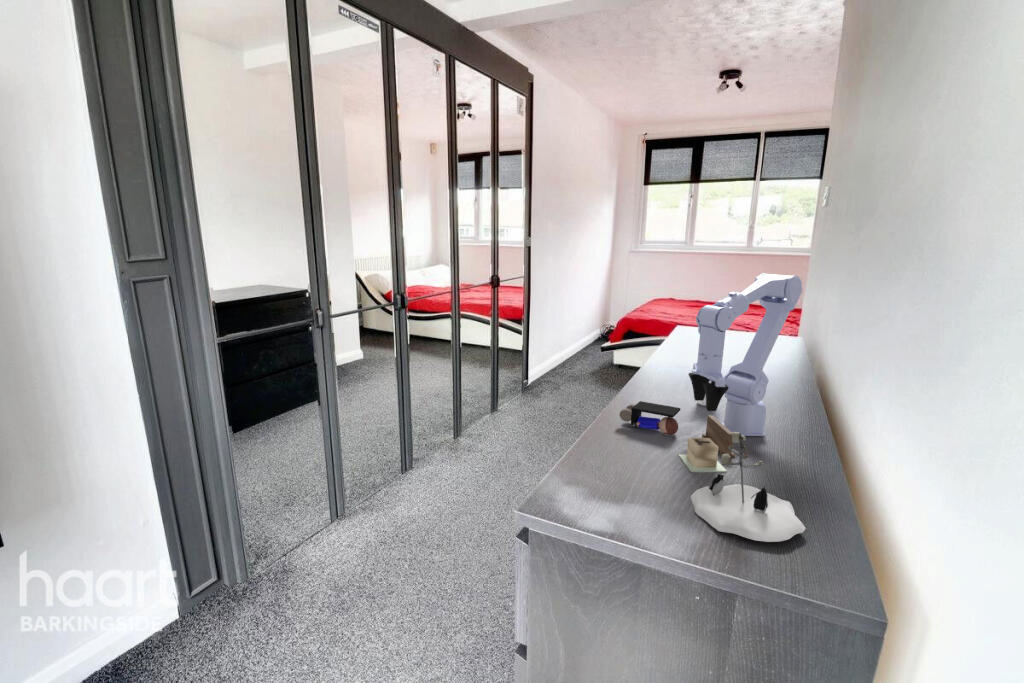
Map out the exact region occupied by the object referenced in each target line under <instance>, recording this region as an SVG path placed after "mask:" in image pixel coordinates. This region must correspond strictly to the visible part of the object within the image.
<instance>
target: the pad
mask: <svg viewBox="0 0 1024 683" xmlns="http://www.w3.org/2000/svg"><path fill="white" fill-rule="evenodd" d="M686 455H687V453H686V454H682V453H681V454H678V458H680V461H682V462H683V464H684V465H685V467H687V469H688V471H690V472H691V473H727V469H725V466H722V463H721V462H720V461H718V460H717V465H716V467H694V466H693V465H692V464H691V462H690V461H689V460H688V459H687V458H686Z"/></svg>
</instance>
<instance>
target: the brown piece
mask: <svg viewBox="0 0 1024 683" xmlns="http://www.w3.org/2000/svg"><path fill="white" fill-rule="evenodd" d="M722 423H723V422H720V420H719V419H717V418H716V417H715V416H714V415H712V414H711V415H710V414H709V415H707V420H706V427H705V428H706V429H705V433H702V435H701V436H702V437H701V438H710V439H711V440H712V441H713V442H714V443H715V444H716V445H717V446H718V447H719V448H718V451H720V454H719V455H720V457H722V455H723V454H729V455H730V457H731V458H735V457H736V454H735V453H733V452H732V451H730V450H729V449H728V448H729V446H730V445H728V442H729V444H731V445H732V446H733V445H734V443H733V442H732V432H731V431H730V430H729V429H728V428H726V427H725V426H724V425H723V424H722ZM727 441H728V442H727Z"/></svg>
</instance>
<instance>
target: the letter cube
mask: <svg viewBox="0 0 1024 683" xmlns="http://www.w3.org/2000/svg"><path fill="white" fill-rule="evenodd" d="M718 448H719V447H718V446H717V445H716V444H715V443H714V442H713V441H712V440H711V439H710V438H703V437H688V438H687V447H686V454H687V455H686V458H687V459H688V460H689V461H690V462H691V464H692V465H693V466H694V467H716V465H717V461H718V456H719V455H718V454H719V449H718Z"/></svg>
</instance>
